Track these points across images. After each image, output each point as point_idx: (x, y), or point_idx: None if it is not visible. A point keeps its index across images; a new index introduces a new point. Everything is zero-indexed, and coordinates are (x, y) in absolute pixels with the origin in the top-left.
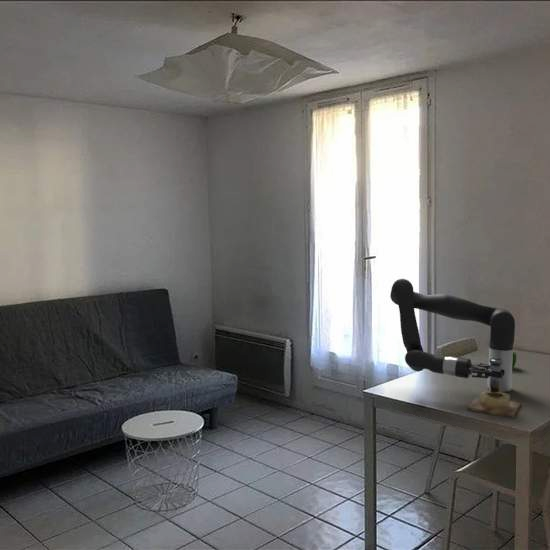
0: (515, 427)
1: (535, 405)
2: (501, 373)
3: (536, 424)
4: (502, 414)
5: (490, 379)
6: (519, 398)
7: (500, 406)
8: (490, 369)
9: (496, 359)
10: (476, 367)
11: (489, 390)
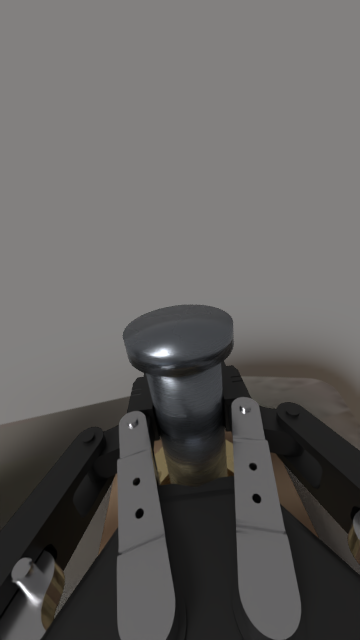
0: (334, 404)
1: (106, 419)
2: (222, 362)
3: (260, 380)
4: (279, 460)
5: (219, 461)
6: (35, 479)
7: None
8: (204, 415)
9: (162, 326)
10: (287, 558)
11: None
